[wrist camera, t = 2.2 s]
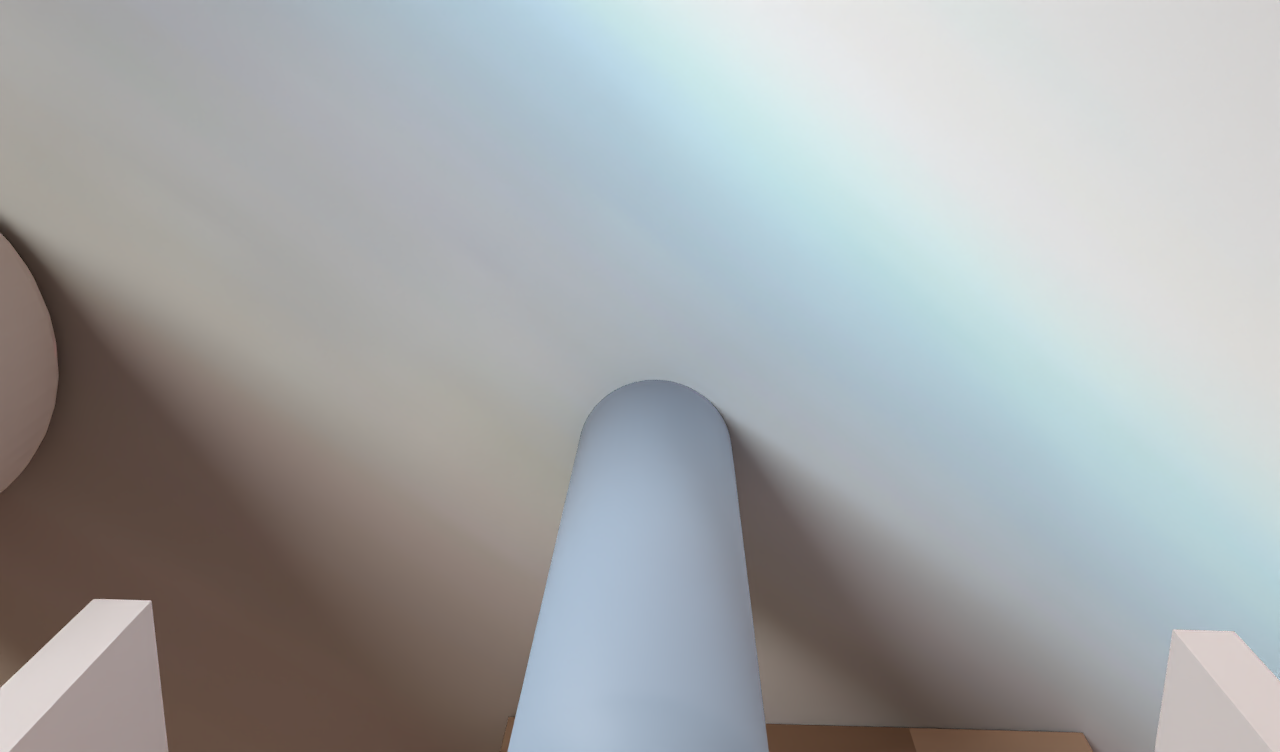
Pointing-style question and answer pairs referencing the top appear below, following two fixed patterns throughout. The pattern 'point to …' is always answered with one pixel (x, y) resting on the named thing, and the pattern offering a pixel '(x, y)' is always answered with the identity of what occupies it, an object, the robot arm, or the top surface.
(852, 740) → the hole block
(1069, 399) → the top surface
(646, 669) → the peg
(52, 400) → the coffee cup
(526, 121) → the top surface
